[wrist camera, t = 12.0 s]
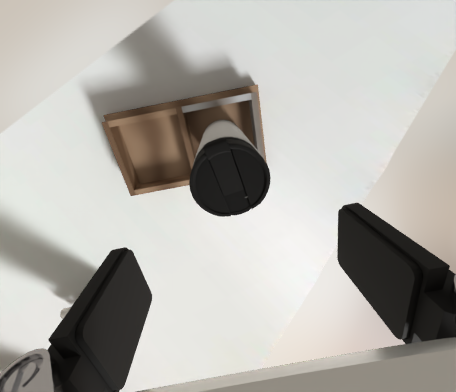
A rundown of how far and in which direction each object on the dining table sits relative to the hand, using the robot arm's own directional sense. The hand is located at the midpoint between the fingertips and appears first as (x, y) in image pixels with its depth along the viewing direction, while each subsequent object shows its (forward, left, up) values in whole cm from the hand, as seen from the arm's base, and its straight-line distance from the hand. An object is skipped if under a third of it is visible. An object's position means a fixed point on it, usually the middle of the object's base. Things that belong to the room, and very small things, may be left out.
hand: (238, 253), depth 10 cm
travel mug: (0, +1, -27) cm, 27 cm away
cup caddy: (-5, +1, -28) cm, 29 cm away
